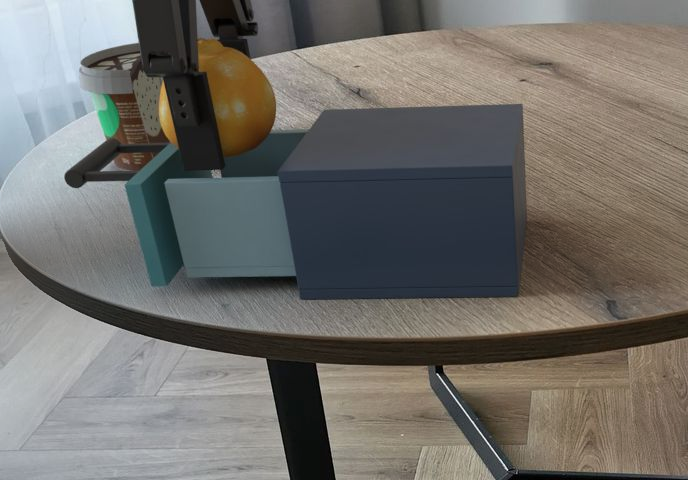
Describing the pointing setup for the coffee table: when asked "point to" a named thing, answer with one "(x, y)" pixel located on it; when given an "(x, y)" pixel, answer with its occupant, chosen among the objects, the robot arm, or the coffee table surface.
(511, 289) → the cabinet
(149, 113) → the food container
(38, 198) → the coffee table surface
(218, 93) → the fruit
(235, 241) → the drawer
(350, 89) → the coffee table surface
